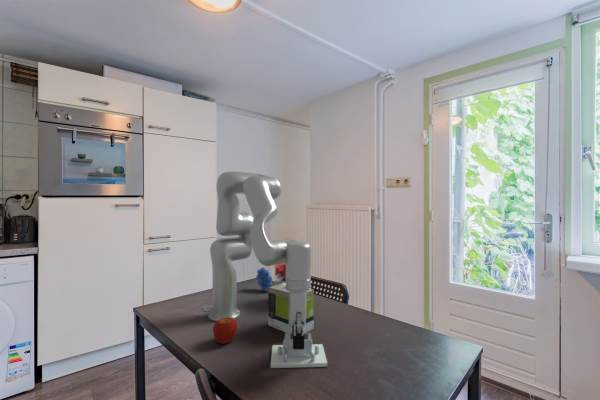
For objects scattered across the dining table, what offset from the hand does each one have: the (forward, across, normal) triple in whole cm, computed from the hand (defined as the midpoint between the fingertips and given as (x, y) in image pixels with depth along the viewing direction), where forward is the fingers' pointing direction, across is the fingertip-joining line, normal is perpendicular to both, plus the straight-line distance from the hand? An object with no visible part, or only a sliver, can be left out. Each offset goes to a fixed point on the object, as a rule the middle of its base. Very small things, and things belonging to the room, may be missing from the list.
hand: (297, 340), depth 87 cm
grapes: (+6, -66, -16) cm, 68 cm away
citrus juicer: (+5, -48, -2) cm, 48 cm away
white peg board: (+5, 0, 0) cm, 5 cm away
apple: (+5, -11, -24) cm, 27 cm away
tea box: (+5, -21, -2) cm, 22 cm away
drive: (+4, 0, 0) cm, 4 cm away
